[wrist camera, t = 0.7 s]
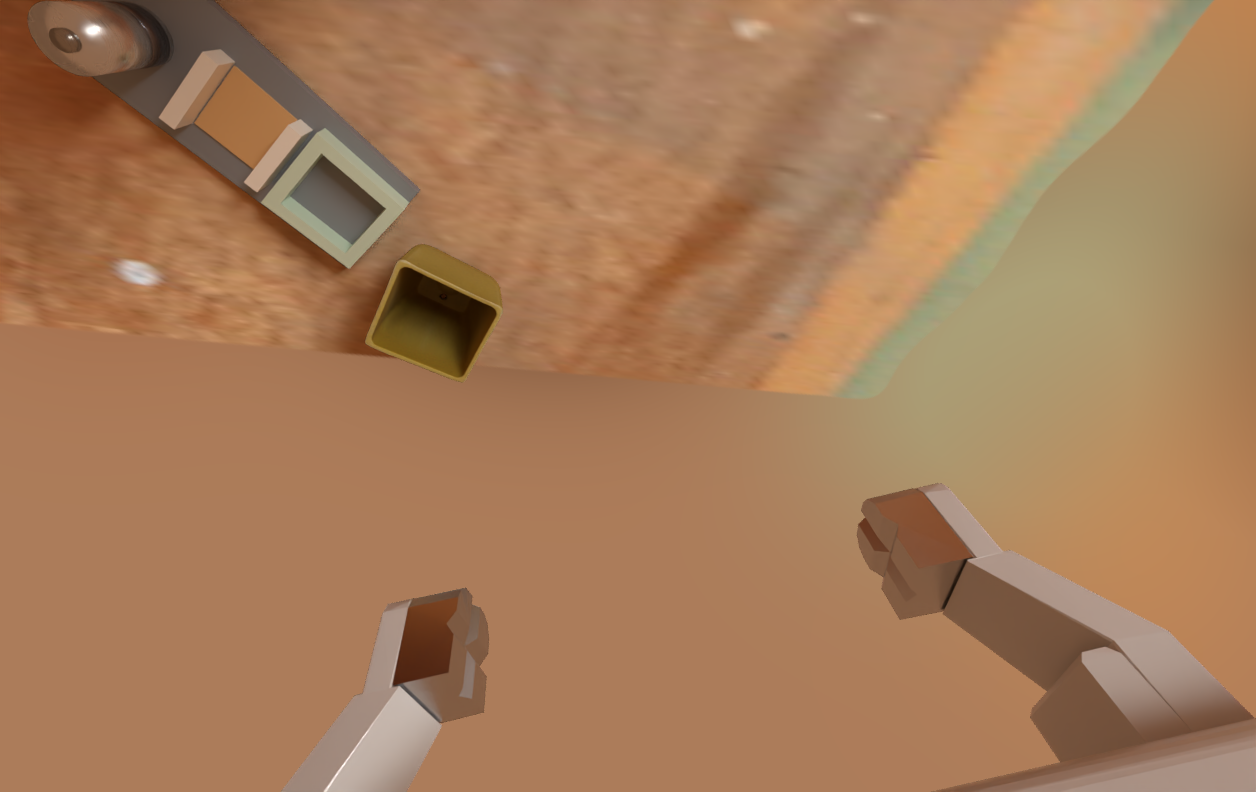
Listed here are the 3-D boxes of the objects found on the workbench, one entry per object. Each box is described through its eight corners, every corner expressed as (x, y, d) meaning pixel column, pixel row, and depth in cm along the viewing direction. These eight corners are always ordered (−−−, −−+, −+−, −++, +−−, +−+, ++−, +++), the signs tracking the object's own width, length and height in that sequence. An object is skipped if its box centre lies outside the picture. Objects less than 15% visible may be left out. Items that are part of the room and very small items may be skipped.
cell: (94, 11, 34) (1, 12, 28) (143, -7, 34) (60, -10, 28) (141, 73, 36) (64, 86, 30) (187, 56, 36) (119, 66, 30)
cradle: (178, 111, 38) (158, 117, 36) (220, 49, 36) (202, 51, 34) (270, 183, 42) (257, 192, 40) (312, 129, 40) (301, 136, 38)
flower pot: (386, 297, 50) (361, 345, 43) (419, 219, 46) (397, 258, 39) (473, 334, 54) (463, 385, 46) (510, 266, 50) (505, 309, 43)
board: (58, 43, 36) (48, 43, 35) (126, -80, 33) (116, -82, 32) (350, 264, 47) (347, 268, 47) (420, 189, 44) (418, 192, 44)
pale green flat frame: (271, 195, 42) (260, 202, 41) (325, 128, 40) (316, 133, 38) (355, 260, 46) (349, 269, 45) (409, 202, 44) (404, 209, 42)
